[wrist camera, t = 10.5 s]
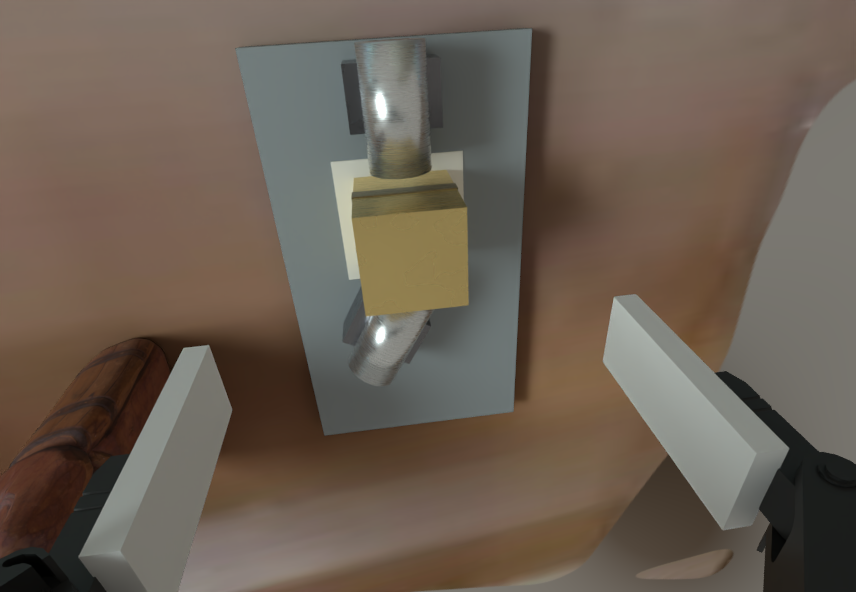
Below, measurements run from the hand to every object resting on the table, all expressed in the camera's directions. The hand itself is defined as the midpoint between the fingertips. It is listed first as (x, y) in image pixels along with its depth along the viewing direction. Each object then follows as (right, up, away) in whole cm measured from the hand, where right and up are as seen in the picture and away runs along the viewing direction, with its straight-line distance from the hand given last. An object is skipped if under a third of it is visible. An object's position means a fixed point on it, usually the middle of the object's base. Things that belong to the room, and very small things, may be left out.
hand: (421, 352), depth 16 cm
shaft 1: (-2, +12, +8) cm, 14 cm away
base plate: (-1, +4, +14) cm, 15 cm away
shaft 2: (-2, +1, +14) cm, 14 cm away
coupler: (-1, +6, +11) cm, 13 cm away
